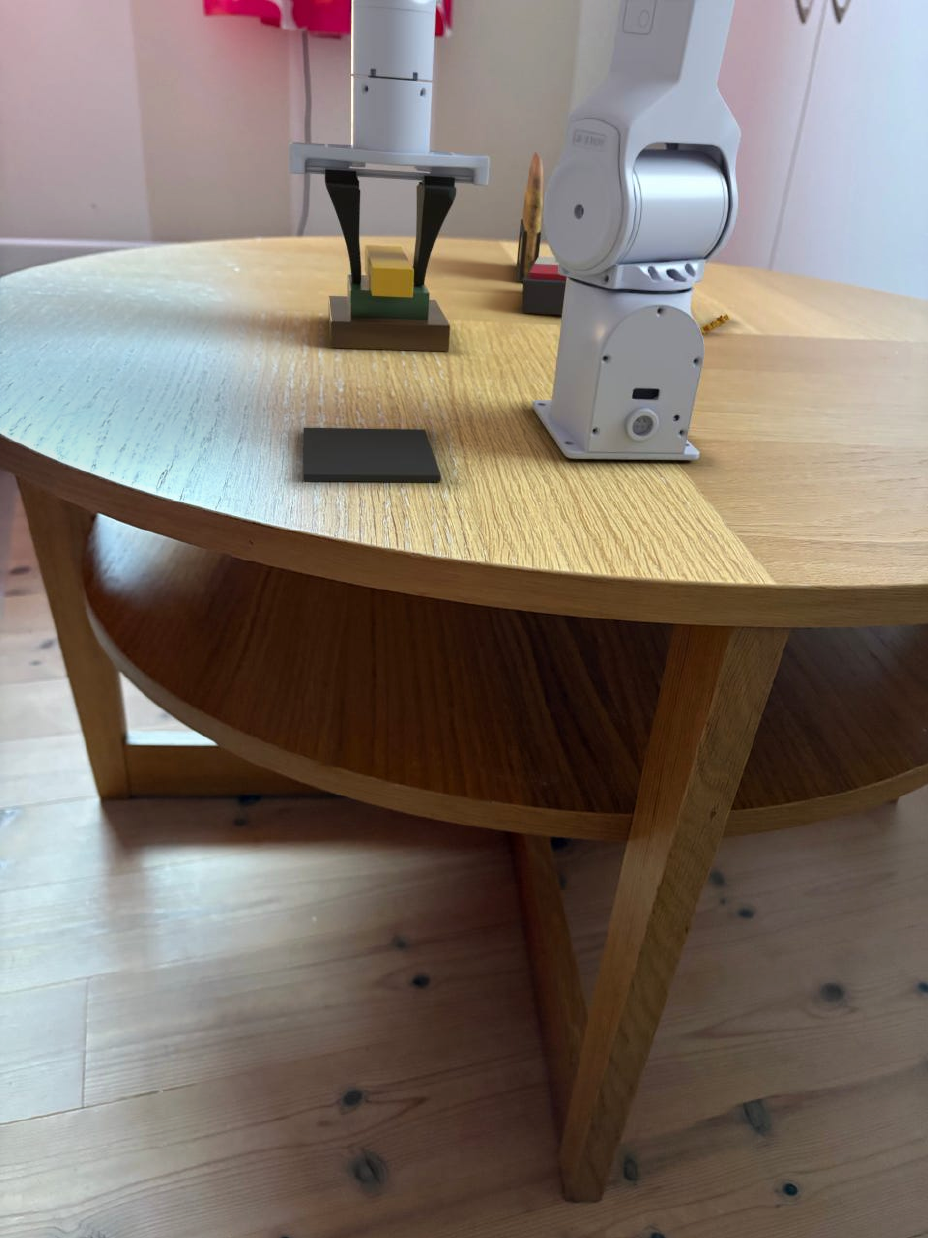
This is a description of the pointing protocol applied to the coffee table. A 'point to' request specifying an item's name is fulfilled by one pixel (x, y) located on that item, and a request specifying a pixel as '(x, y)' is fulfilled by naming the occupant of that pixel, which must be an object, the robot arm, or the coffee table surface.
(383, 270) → the bar
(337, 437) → the mat
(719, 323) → the keychain
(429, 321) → the stepped green brown block
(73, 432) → the coffee table surface
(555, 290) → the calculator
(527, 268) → the ammunition clip
